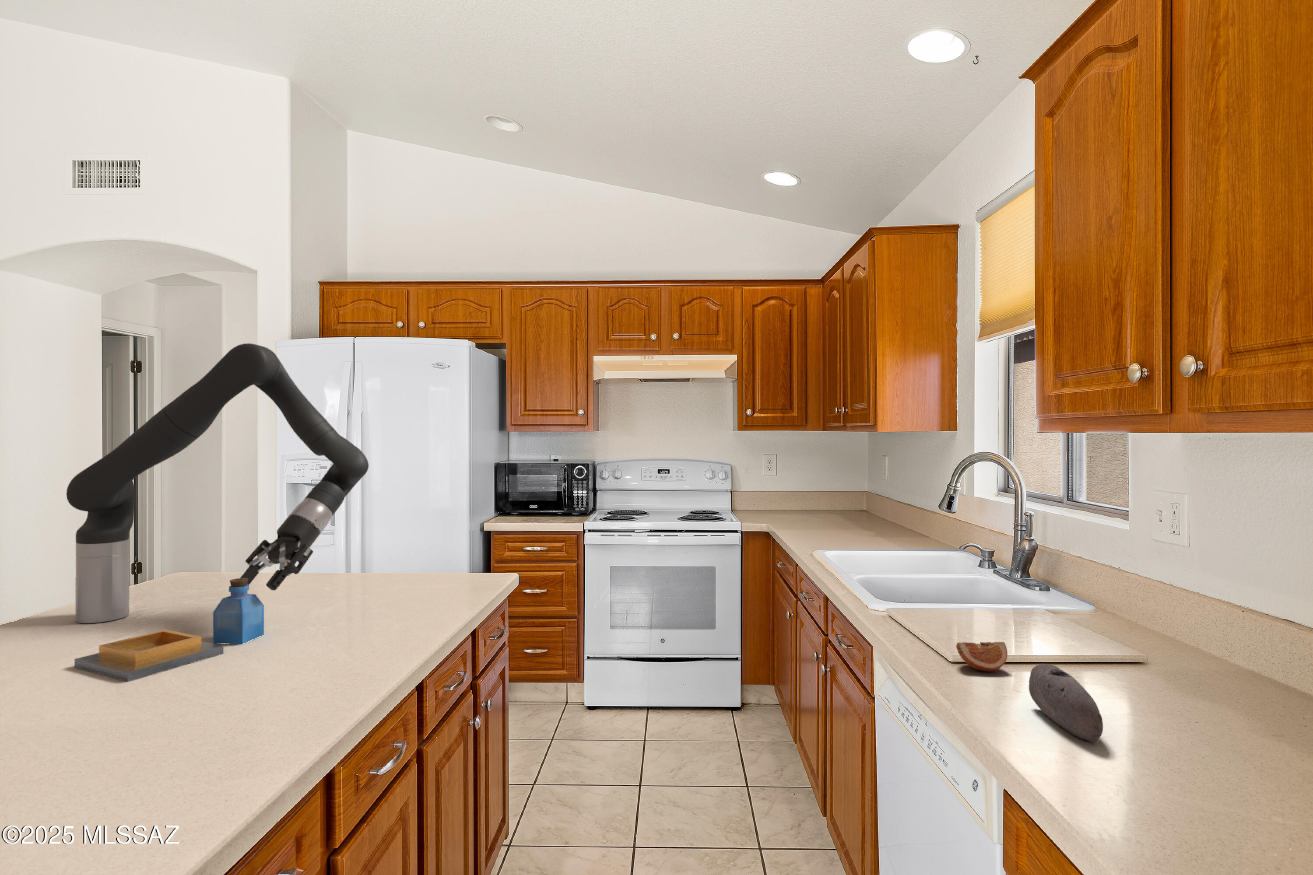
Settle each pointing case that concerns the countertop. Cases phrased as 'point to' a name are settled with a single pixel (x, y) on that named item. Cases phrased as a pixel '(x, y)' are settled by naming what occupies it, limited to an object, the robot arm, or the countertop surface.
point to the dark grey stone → (1065, 701)
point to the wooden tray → (147, 655)
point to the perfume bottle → (238, 615)
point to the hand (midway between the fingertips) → (256, 586)
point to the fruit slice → (983, 655)
